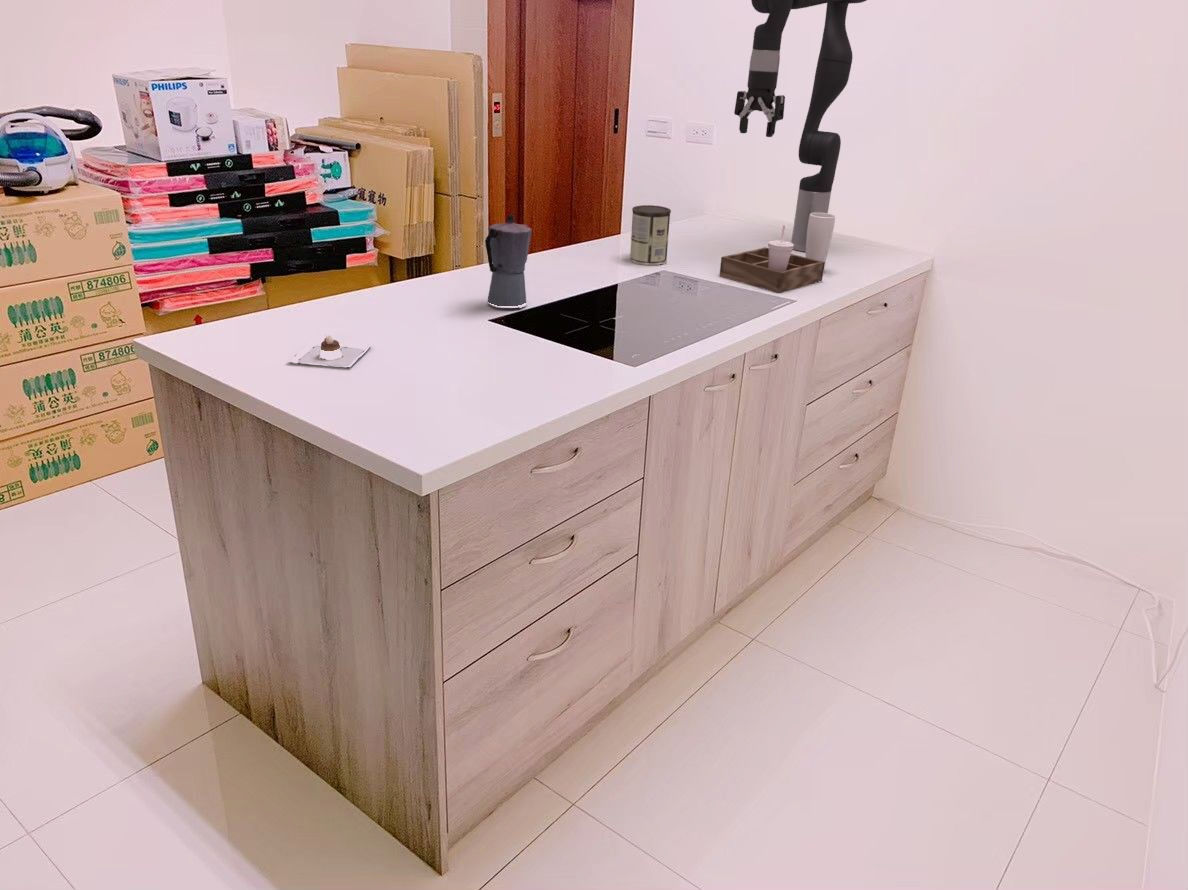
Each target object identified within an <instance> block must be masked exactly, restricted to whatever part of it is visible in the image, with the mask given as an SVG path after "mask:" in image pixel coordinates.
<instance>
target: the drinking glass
mask: <svg viewBox="0 0 1188 890" xmlns="http://www.w3.org/2000/svg"><path fill="white" fill-rule="evenodd" d="M835 222H836V215H834V214H832V213H829V212H828V213H811V214H810V216H809V221H808V228H807V240H806V252H805V254H804V257H806V258H810V259H814V260H818V261H822V262H825V263H826V261H827V259H828V258H827V257H828V254H829V253H828V252H829V249H830V246H831V242H832V241H831V240H832V237H833V233H834V229H835ZM825 266H826V264H825V265H824V268H825Z"/></svg>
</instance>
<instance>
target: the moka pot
mask: <svg viewBox="0 0 1188 890" xmlns="http://www.w3.org/2000/svg"><path fill="white" fill-rule="evenodd" d="M514 220H515V215H512V214H509V215H507V222H503V223H494V224H492V225H490V226H489V227H488V234H487V236H486V238H485V240H484V243H485V248H486V249H485V250H486V255H487V262H488V266H489V272H491V280H490V284H489V285H490V286H489V290H488V294H487V295H488V296H487V303H488V302H489V303H491V304H494V305H497V306H518V305H522V304H524V303H527V292H526V291H527V290H526V280H525V279H526V278H525V271H526V270H525V269H526V263H527V261H528V254H529V248H530V242H531V235H532V229H533V228H531V227H529V226H528V225H526V224H522V223H521V224H520V223H516V222H514Z"/></svg>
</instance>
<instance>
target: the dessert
mask: <svg viewBox="0 0 1188 890" xmlns="http://www.w3.org/2000/svg"><path fill="white" fill-rule="evenodd" d="M322 341H323V342H322V343H321V346H320V348H321V350H324V351H334V350H337V349H339V348H340V345H339V343H340V342H339V341H338V340H336V339H334V338H332V336H331V335H328V336H327V335H325V338H324V339H323V340H322Z"/></svg>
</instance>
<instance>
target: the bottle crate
mask: <svg viewBox="0 0 1188 890" xmlns="http://www.w3.org/2000/svg"><path fill="white" fill-rule="evenodd" d="M768 265H769V247H761V248H757V249H751V250H746V251H743V252H738V253H734V254H729V255H724V256H721V258H720V268H719V277H723V278H726V279H730V280H732V281H736V282H740V283H742V282H743V283H744V284H747V285H750V286H754V287H756V286H757V287H756V288H760V287H761V289H763V288H764V290H767V289H768V291H770V290H771V291H772V292H774V293H778V294H780V292H781V293H785V292H788V291H791V289H792V290H795V289H799V288H802V286H803V287H806V286H810V285H813V284H816V283H815V282H817V283H820V282H819V281H821V282H823V278H824V277H823V276H824V271H825V267H824V265H825V266H826V262H822V261H818V260H814V259H810V258H806V257H805V256H801V255H798V254H793V253H791V255H790V258H789V262H788V265H787V269H786V271H782V272H780V271H777V270H773V269H769V268H768ZM809 284H810V285H809ZM805 285H806V286H805ZM787 290H788V291H787ZM784 291H785V292H784Z"/></svg>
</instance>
